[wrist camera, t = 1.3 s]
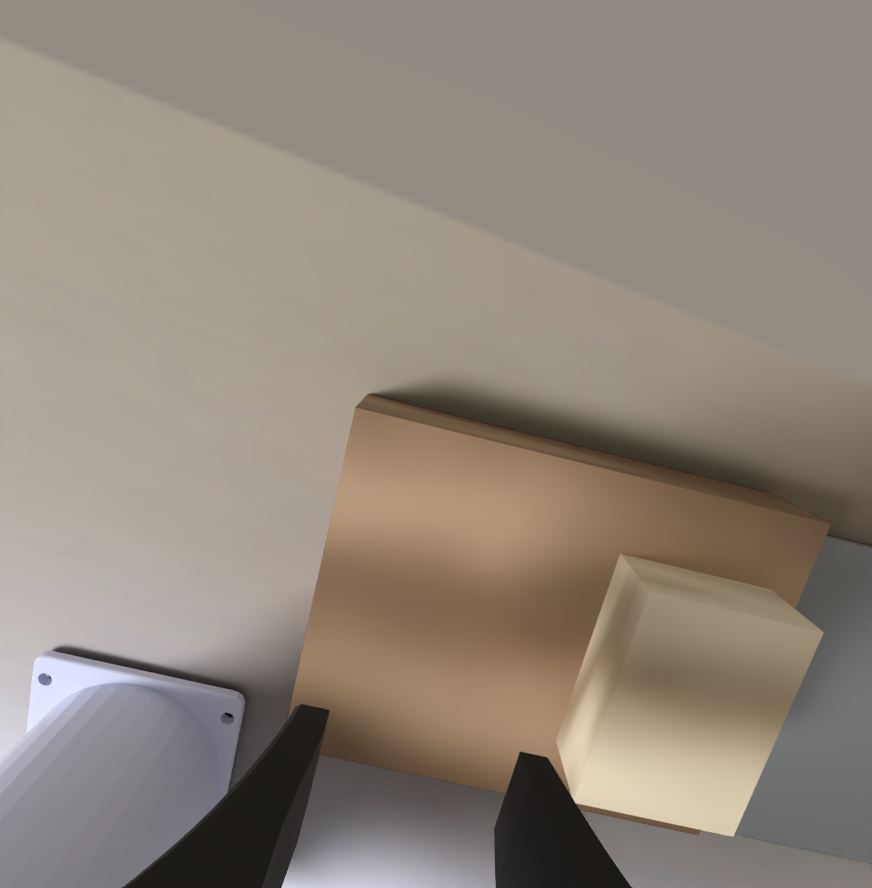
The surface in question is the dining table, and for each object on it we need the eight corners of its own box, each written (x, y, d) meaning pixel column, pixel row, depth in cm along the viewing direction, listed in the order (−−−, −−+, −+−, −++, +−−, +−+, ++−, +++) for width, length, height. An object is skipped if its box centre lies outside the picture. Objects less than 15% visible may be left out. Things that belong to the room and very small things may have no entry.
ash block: (695, 771, 19) (733, 836, 17) (556, 740, 19) (573, 802, 17) (770, 589, 18) (823, 632, 15) (620, 553, 17) (649, 591, 15)
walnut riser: (664, 768, 23) (698, 835, 20) (301, 689, 22) (280, 746, 19) (774, 494, 20) (831, 524, 17) (367, 394, 19) (355, 407, 17)
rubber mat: (933, 869, 24) (941, 878, 23) (655, 810, 23) (659, 818, 23) (1082, 597, 21) (1095, 603, 21) (771, 521, 20) (778, 525, 20)
